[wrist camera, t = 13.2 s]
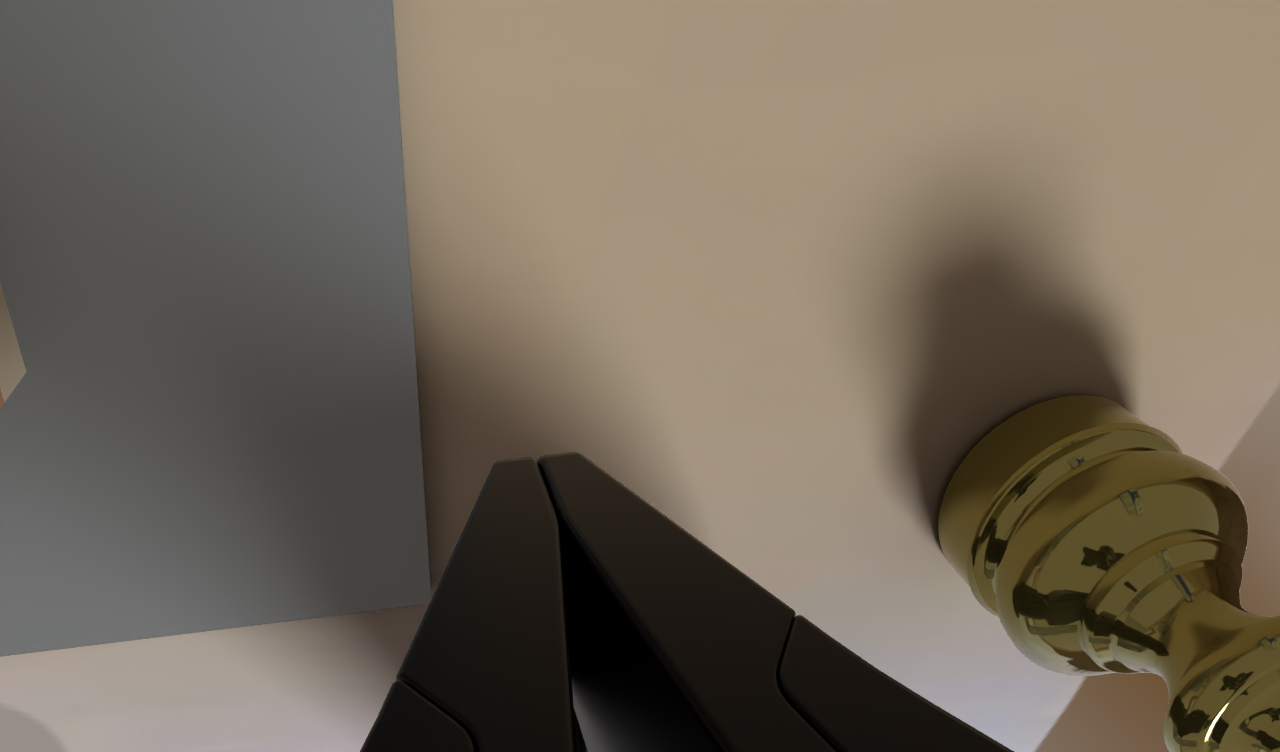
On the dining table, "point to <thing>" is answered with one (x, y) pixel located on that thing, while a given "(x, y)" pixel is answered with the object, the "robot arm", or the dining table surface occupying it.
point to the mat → (204, 320)
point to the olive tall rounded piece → (1118, 565)
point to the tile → (8, 354)
